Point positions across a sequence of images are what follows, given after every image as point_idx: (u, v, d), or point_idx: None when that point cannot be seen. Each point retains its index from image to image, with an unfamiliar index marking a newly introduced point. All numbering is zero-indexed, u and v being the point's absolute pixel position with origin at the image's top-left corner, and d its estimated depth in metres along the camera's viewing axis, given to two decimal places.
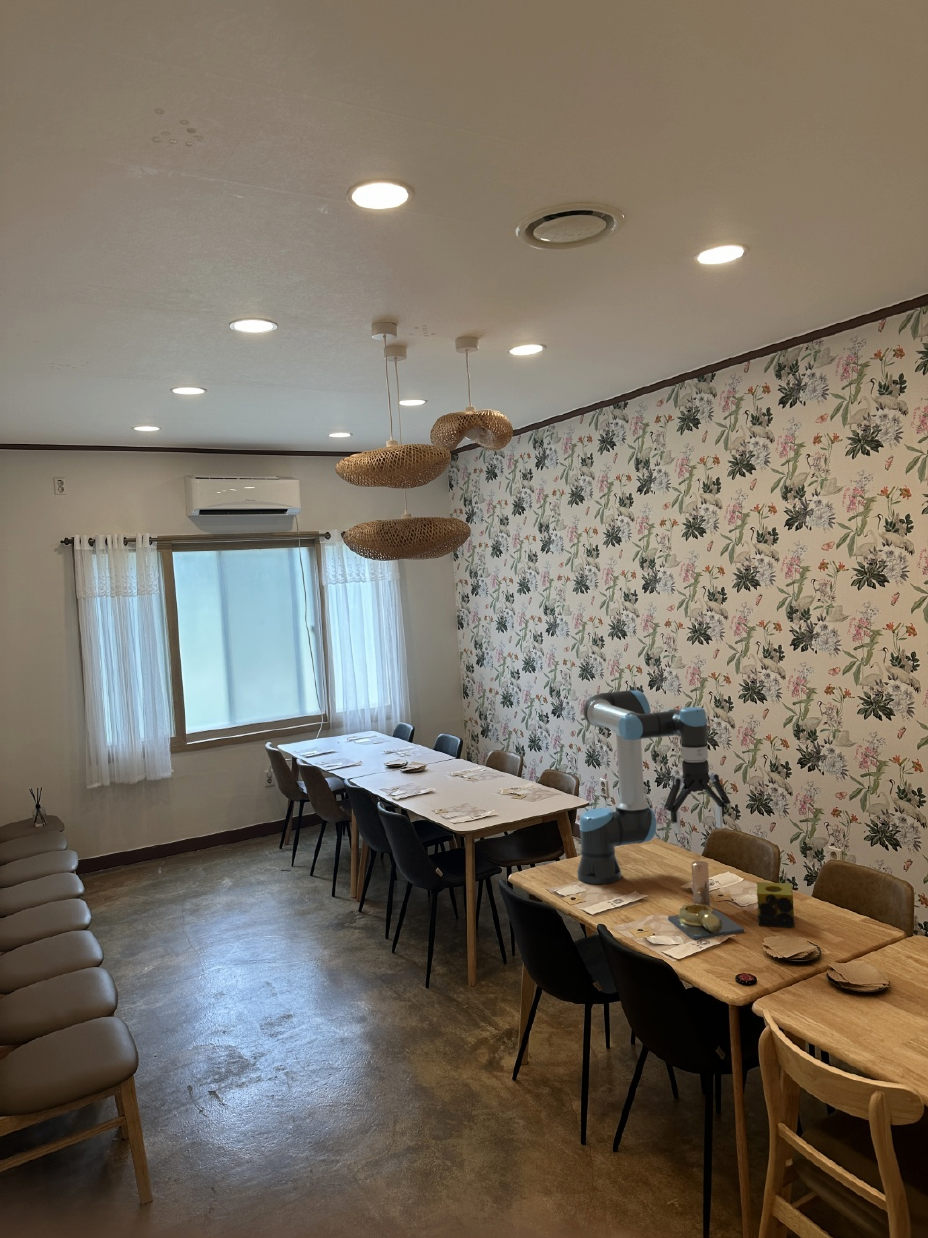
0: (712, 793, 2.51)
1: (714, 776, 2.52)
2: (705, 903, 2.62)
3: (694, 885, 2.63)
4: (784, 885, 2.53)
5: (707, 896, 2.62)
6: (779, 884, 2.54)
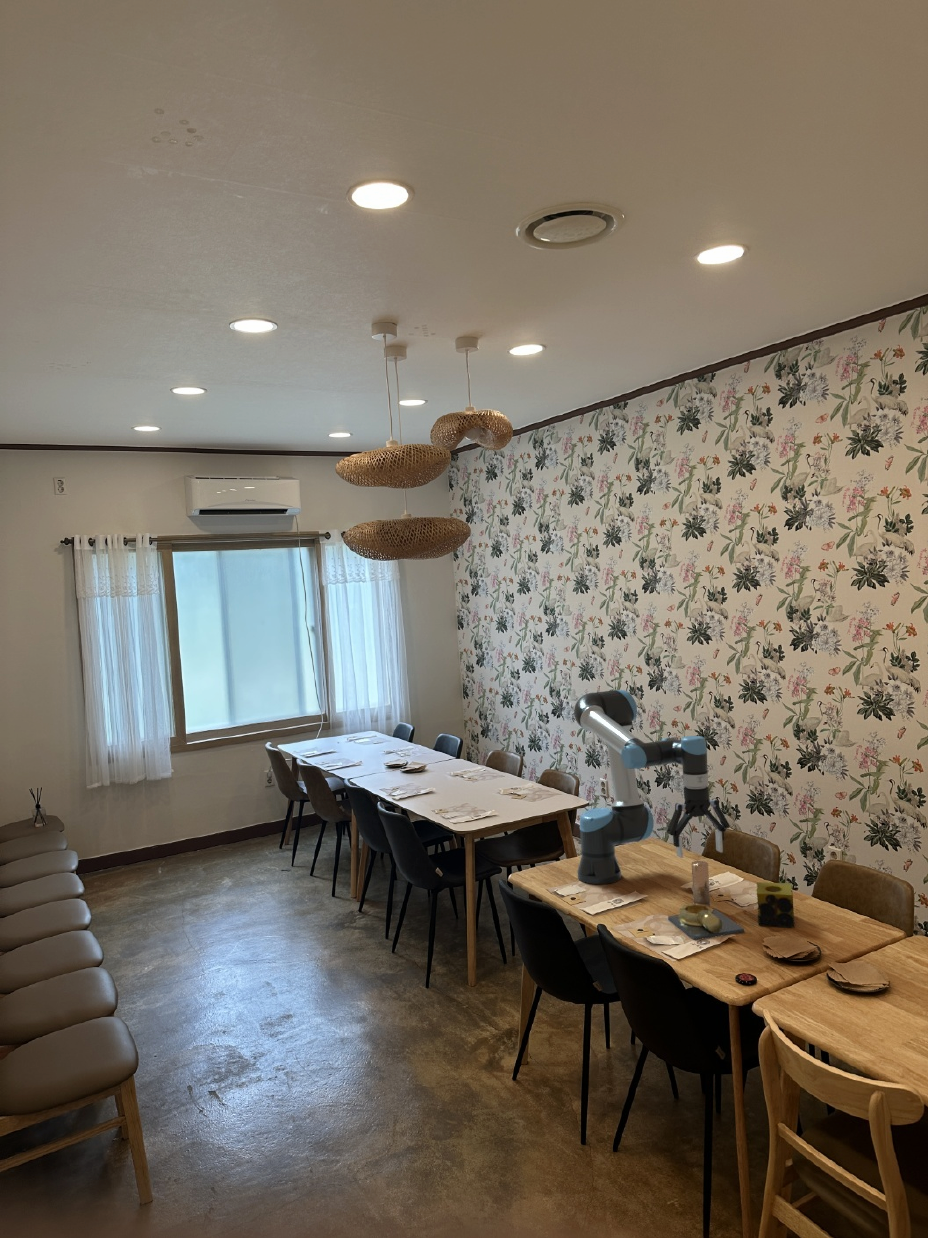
0: (712, 818, 2.63)
1: (714, 802, 2.64)
2: (705, 903, 2.62)
3: (694, 885, 2.63)
4: (784, 885, 2.53)
5: (707, 896, 2.62)
6: (778, 884, 2.54)
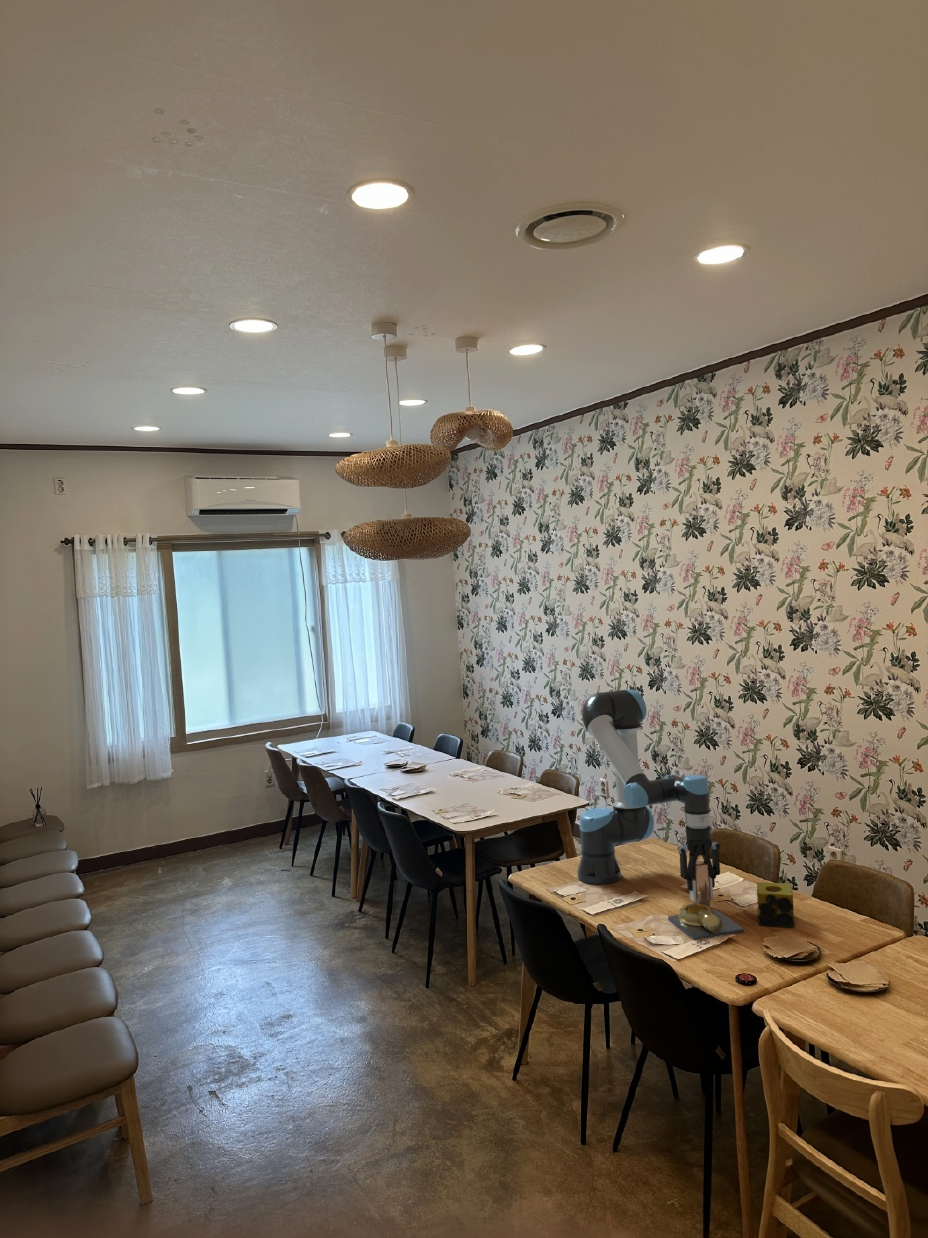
0: (708, 861, 2.64)
1: (716, 844, 2.64)
2: (705, 903, 2.62)
3: None
4: (784, 885, 2.53)
5: (707, 896, 2.62)
6: (779, 884, 2.54)
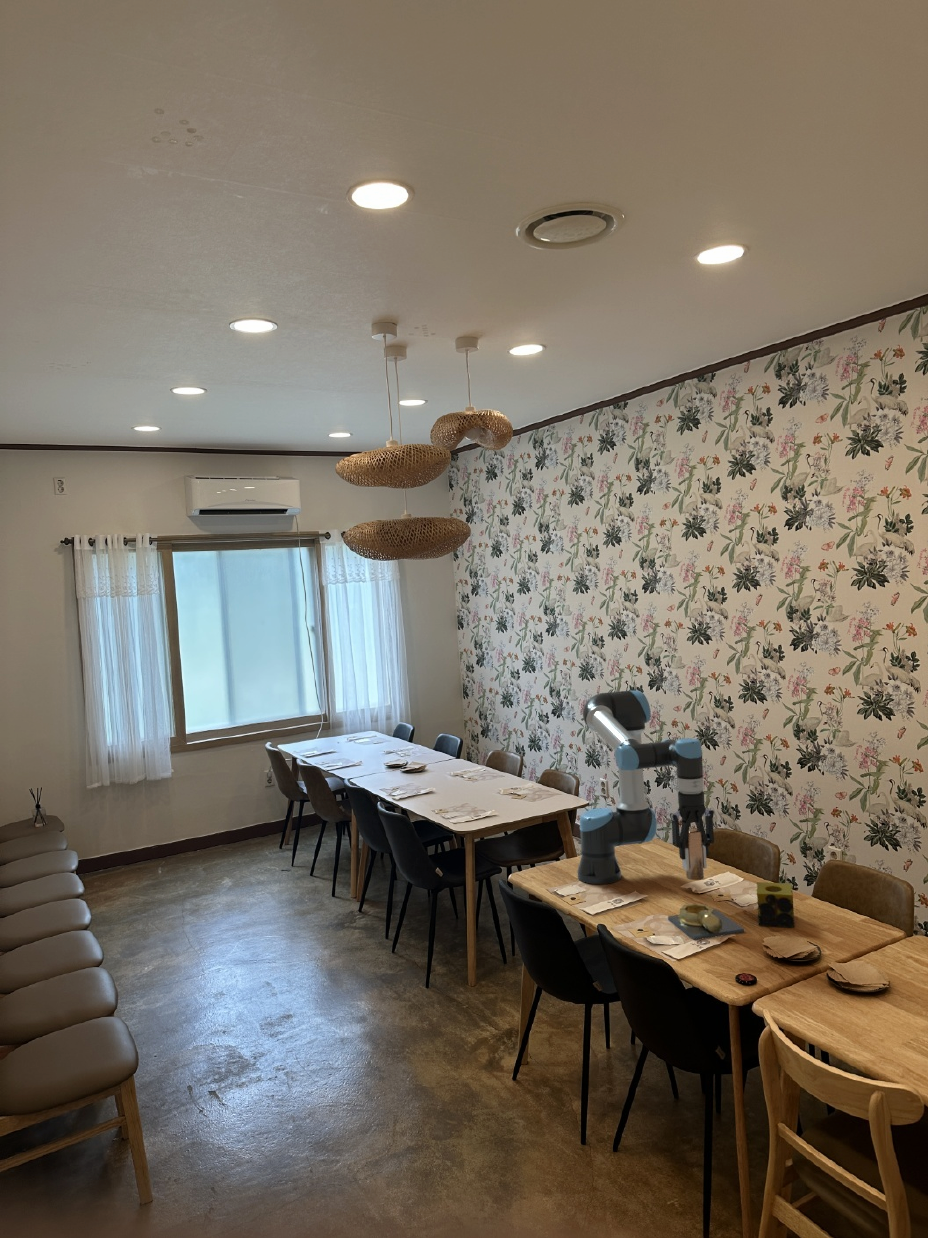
0: (702, 828, 2.52)
1: (710, 811, 2.53)
2: (698, 872, 2.50)
3: None
4: (784, 885, 2.53)
5: (700, 865, 2.51)
6: (779, 884, 2.54)
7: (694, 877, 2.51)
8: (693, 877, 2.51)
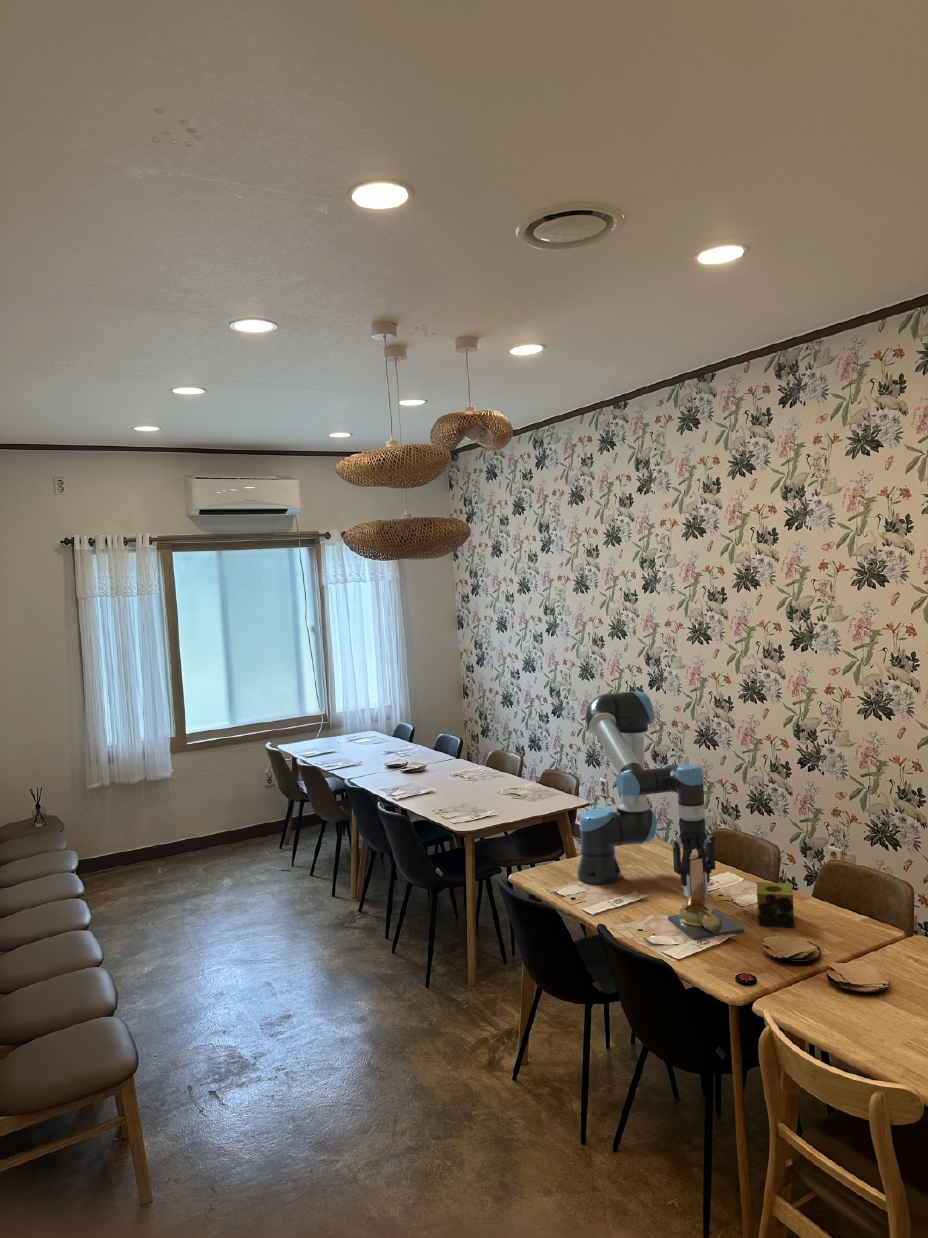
0: (703, 855, 2.52)
1: (711, 838, 2.53)
2: (700, 899, 2.50)
3: None
4: (784, 885, 2.53)
5: (702, 892, 2.51)
6: (778, 884, 2.54)
7: (695, 904, 2.51)
8: (695, 904, 2.51)
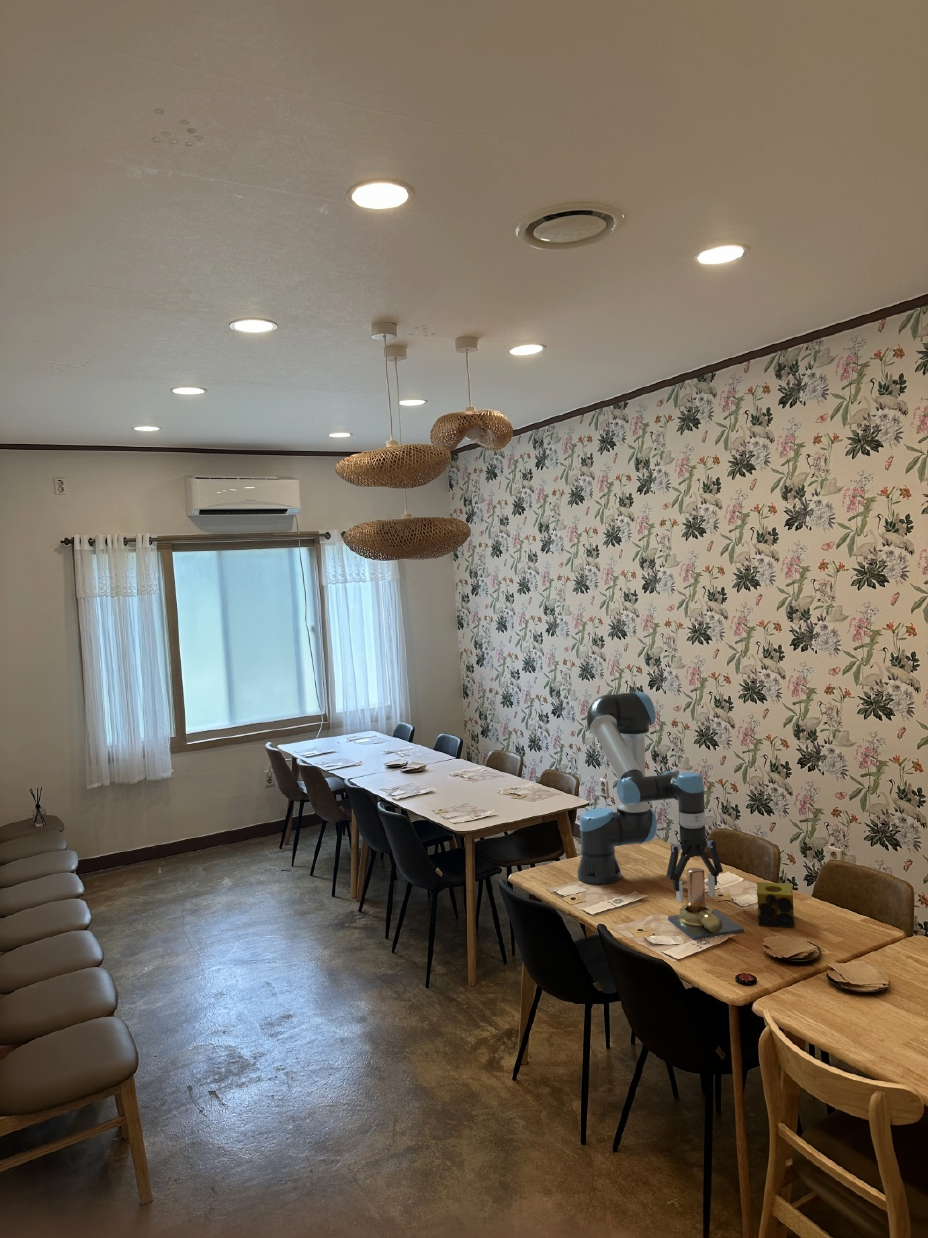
0: (707, 860, 2.52)
1: (711, 843, 2.53)
2: None
3: (689, 893, 2.52)
4: (784, 885, 2.53)
5: (703, 905, 2.51)
6: (779, 884, 2.54)
7: None
8: None
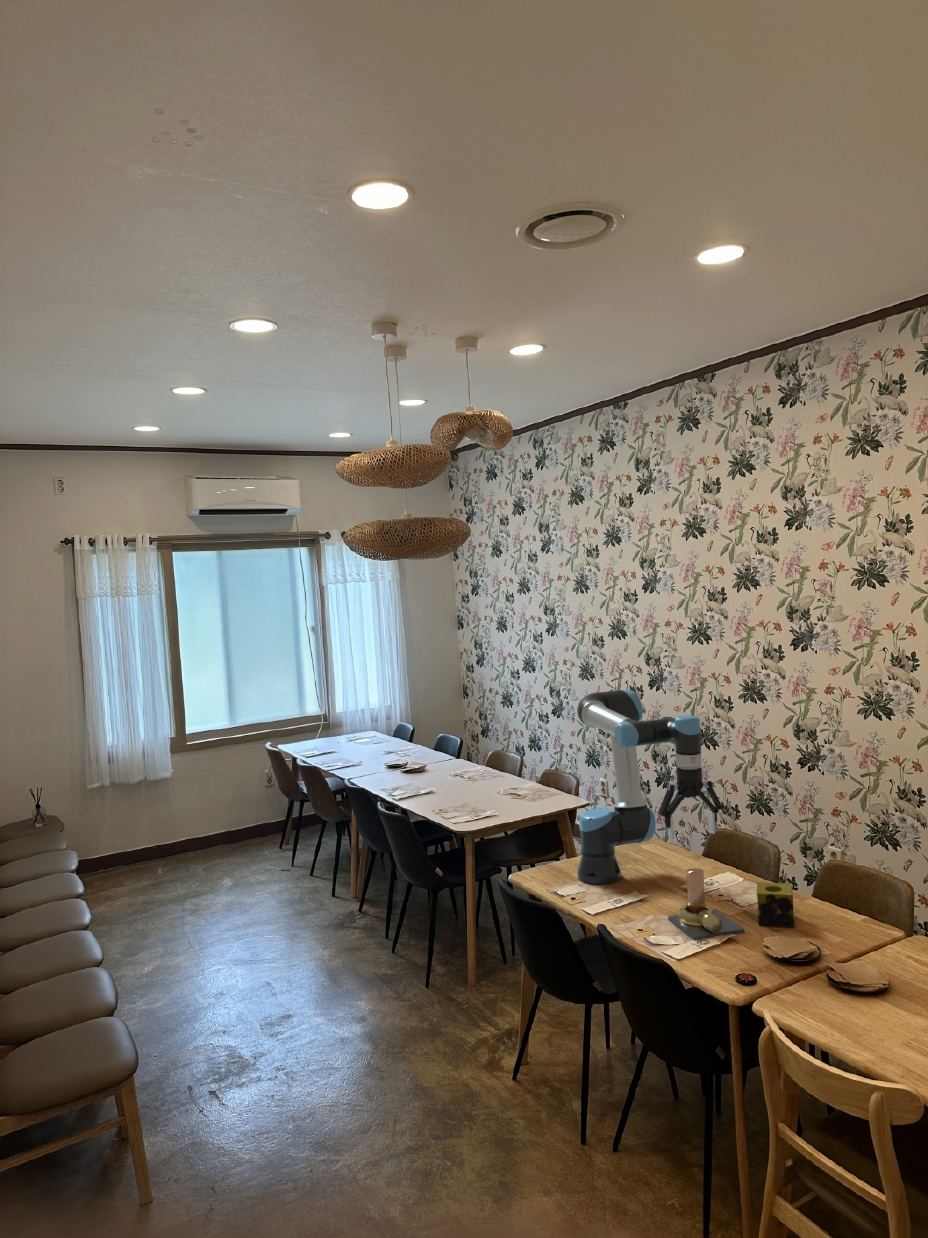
0: (705, 799, 2.58)
1: (707, 783, 2.59)
2: None
3: (689, 893, 2.52)
4: (784, 885, 2.53)
5: (702, 905, 2.51)
6: (779, 884, 2.54)
7: None
8: None
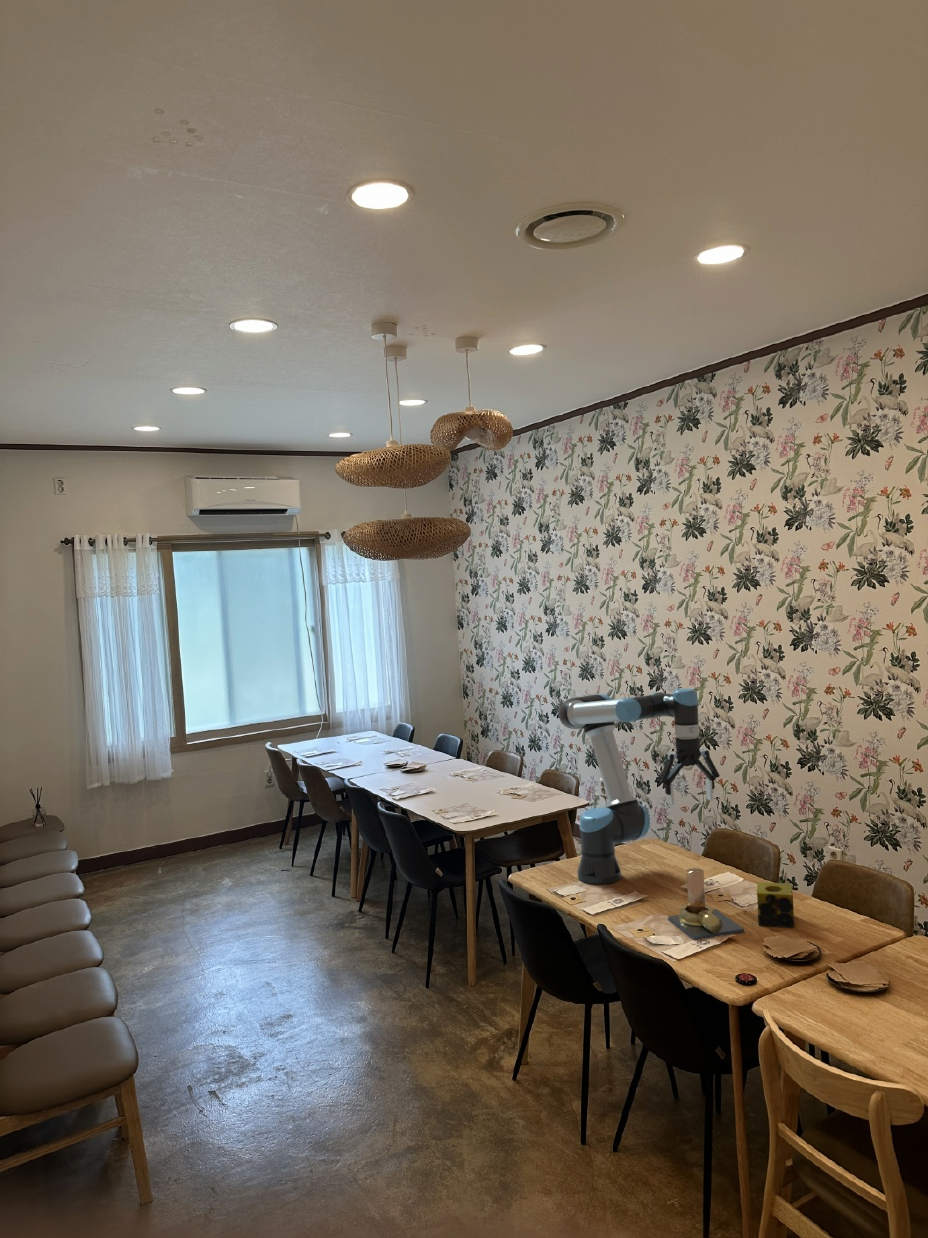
0: (703, 767, 2.74)
1: (705, 752, 2.74)
2: None
3: (689, 894, 2.52)
4: (784, 885, 2.53)
5: (702, 905, 2.51)
6: (779, 884, 2.54)
7: None
8: None
